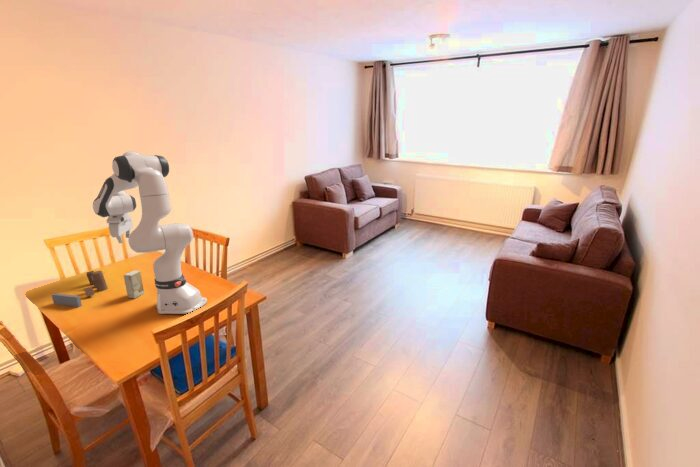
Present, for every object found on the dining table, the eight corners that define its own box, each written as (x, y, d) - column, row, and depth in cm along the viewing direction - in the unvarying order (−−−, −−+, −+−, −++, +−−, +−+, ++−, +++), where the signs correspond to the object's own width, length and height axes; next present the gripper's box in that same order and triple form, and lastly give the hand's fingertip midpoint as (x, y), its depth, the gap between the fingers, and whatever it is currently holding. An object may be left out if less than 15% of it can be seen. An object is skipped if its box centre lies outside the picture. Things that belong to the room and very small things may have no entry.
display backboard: (81, 305, 157) (79, 295, 156) (78, 307, 156) (76, 297, 154) (57, 302, 160) (54, 293, 158) (54, 304, 158) (51, 294, 157)
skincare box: (134, 298, 164) (130, 275, 160) (127, 297, 165) (122, 275, 161) (145, 292, 170) (140, 270, 166) (137, 292, 171) (133, 269, 167)
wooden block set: (86, 286, 177) (80, 268, 173) (106, 280, 182) (100, 263, 178) (87, 299, 164) (80, 281, 160) (108, 293, 168) (102, 275, 165)
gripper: (121, 212, 192) (126, 234, 196) (104, 221, 173) (110, 246, 177) (133, 211, 194) (138, 234, 198) (118, 220, 175) (123, 245, 179)
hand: (124, 240), depth 187 cm, fingers open, 8 cm apart
